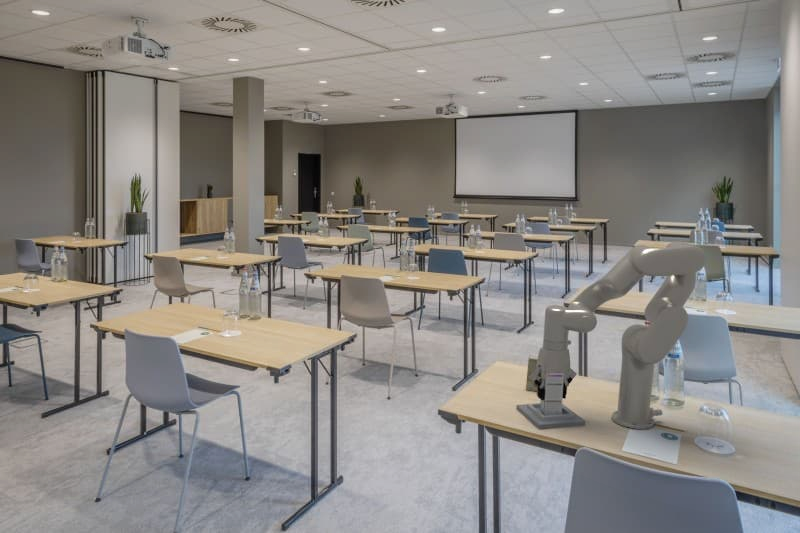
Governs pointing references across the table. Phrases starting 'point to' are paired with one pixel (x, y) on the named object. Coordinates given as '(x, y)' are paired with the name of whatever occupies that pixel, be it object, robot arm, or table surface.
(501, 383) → the table surface
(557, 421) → the socket plate
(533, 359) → the skincare box
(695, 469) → the table surface
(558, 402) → the syrup box
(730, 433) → the table surface
